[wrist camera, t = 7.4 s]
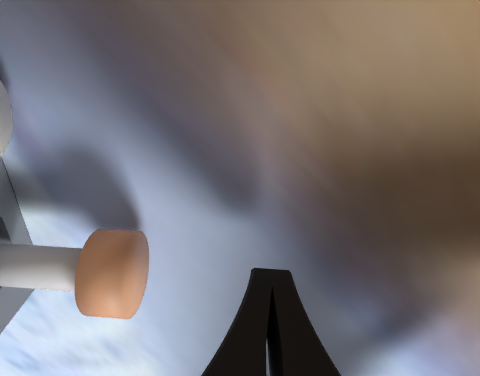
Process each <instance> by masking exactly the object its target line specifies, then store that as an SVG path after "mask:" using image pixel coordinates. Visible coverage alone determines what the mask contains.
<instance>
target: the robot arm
mask: <svg viewBox="0 0 480 376" xmlns="http://www.w3.org/2000/svg"><path fill="white" fill-rule="evenodd" d="M266 341H267V343H268V357H269V370H270V376H341V375H340V373H339V372H338V370H337V368H336V367H335V365H334V364H333V362H332V361H331V359H330V357H329V356H328V354H327V352H326V350H325V349H324V347H323V345H322V343H321V341H320V340H319V338H318V336H317V334H316V332H315V330H314V328H313V326H312V324H311V322H310V320H309V318H308V316H307V314H306V312H305V309H304V307H303V305H302V303H301V300H300V298H299V295H298V293H297V290H296V287H295V284H294V281H293V278H292V274H291V272H290V271H289V270H277V269H263V268H254V269H252V270H251V275H250V280H249V284H248V287H247V290H246V293H245V295H244V298H243V301H242V303H241V305H240V308H239V310H238V312H237V315H236V317H235V319H234V321H233V323H232V325H231V327H230V329H229V331H228V333H227V335H226V336H225V338H224V340H223V342H222V344H221V345H220V347H219V349H218V350H217V352H216V354H215V355H214V357H213V359H212V360H211V362H210V363H209V365H208V366H207V368H206V369H205V371H204V372H203V374H202V375H201V376H266Z"/></svg>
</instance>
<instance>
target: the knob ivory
mask: <svg viewBox="0 0 480 376" xmlns="http://www.w3.org/2000/svg"><path fill="white" fill-rule="evenodd" d="M12 129H13V112H12V106H11V102H10V99H9V96H8V93H7V91H6V89H5V87H4V85H3V84H2V82H1V81H0V157H1V156H2V155H3V153H4V152H5V150H6V148H7V147H8V144H9V142H10V139H11V135H12Z"/></svg>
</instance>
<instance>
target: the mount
mask: <svg viewBox="0 0 480 376" xmlns="http://www.w3.org/2000/svg"><path fill="white" fill-rule="evenodd" d="M0 243H7V244H22V245H32V242H31V240H30V237H29V234H28V231H27V228H26V226H25V223H24V220H23V217H22V214H21V212H20V209H19V206H18V203H17V200H16V198H15V195H14V192H13V189H12V186H11V184H10V181H9V178H8V175H7V173H6V170H5V167H4V164H3V161H2V159H1V157H0ZM33 291H34V289H31V288H18V287H4V286H0V334H1V332H2V331H3V330H4V328H5V327H6V326H7V325H8V323H9V322H10V321H11V319H12V318H13V317H14V315H15V314H16V313H17V312H18V310H19V309H20V308H21V306H22V305H23V304H24V302H25V301H26V300H27V298H28V297H29V296H30V295H31V293H32V292H33Z"/></svg>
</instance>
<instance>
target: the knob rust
mask: <svg viewBox="0 0 480 376" xmlns="http://www.w3.org/2000/svg"><path fill="white" fill-rule="evenodd" d="M148 269H149V248H148V242H147V238H146V236H145V234H144V233H143V232H141V231H128V230H113V229H98V230H96V231H95V232H93V233H92V234H91V236H90V237H89V238H88V240H87V241H86V243H85V245H84V247H83V249H81V248H66V247H51V246H37V245H22V244H7V243H0V286H4V287H18V288H31V289H45V290H58V291H71V292H75V299H76V303H77V307H78V309H79V311H80V312H81V313H82V314H83V315H85V316H94V317H107V318H120V319H130V318H132V317H133V316H134V315H135V313H136V312H137V310H138V308H139V306H140V304H141V301H142V298H143V295H144V292H145V288H146V283H147V277H148Z"/></svg>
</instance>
